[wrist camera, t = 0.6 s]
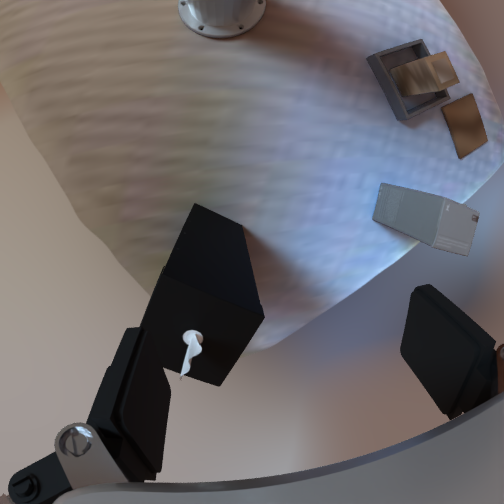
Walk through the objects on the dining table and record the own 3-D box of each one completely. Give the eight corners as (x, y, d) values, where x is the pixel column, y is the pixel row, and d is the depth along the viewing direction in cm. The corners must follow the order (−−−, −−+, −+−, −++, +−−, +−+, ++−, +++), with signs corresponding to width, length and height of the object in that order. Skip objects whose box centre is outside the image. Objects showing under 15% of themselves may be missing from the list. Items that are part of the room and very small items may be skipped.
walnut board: (440, 107, 40) (442, 107, 39) (470, 93, 39) (472, 93, 38) (458, 158, 43) (460, 158, 42) (486, 140, 42) (488, 140, 41)
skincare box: (370, 219, 46) (426, 253, 31) (381, 176, 43) (444, 195, 28) (409, 228, 47) (467, 262, 32) (419, 189, 45) (483, 212, 30)
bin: (365, 58, 36) (374, 53, 33) (412, 42, 35) (421, 38, 32) (397, 120, 40) (407, 119, 37) (439, 99, 39) (450, 98, 36)
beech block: (388, 69, 37) (425, 57, 28) (409, 62, 37) (445, 50, 27) (402, 96, 39) (440, 90, 29) (421, 88, 38) (460, 82, 29)
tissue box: (243, 225, 44) (272, 345, 18) (219, 269, 46) (220, 416, 20) (194, 202, 42) (150, 297, 16) (172, 248, 44) (119, 382, 18)
